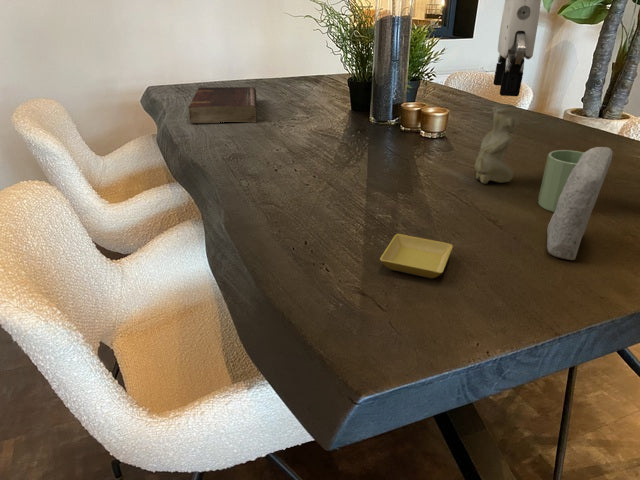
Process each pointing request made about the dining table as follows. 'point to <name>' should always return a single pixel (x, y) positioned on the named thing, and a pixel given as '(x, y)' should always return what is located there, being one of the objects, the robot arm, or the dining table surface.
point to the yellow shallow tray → (416, 256)
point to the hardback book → (223, 105)
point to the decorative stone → (577, 203)
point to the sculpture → (497, 145)
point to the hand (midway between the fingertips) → (505, 90)
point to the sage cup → (556, 176)
